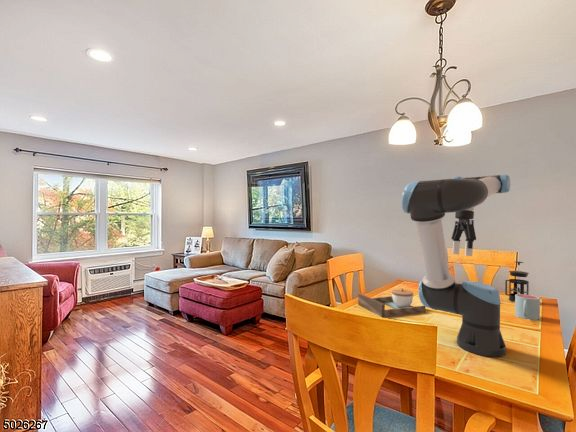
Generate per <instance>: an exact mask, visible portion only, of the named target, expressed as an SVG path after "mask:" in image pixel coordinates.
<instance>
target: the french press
mask: <svg viewBox="0 0 576 432" xmlns="http://www.w3.org/2000/svg"><path fill="white" fill-rule="evenodd" d="M515 263H516V264H517V265H518V267H517V268H518V270H508V273H509V275H510V276H511V277H518V278H509V279H505V280H504V281H505V285H504V286H505V287H504V290H505V291H504V293H505V295H506V296H508V301H510V302H512V303H515V295H516V294H526V295H530V294H529V291H530V289H529V283H530V282H529V281H528V280H525V279H520V278H527V277H528V275H529V272H527V271H522V270H520V265H521V264H524V262H523V261H517V260H515ZM512 284H513V287H512ZM508 286H509V287H508ZM525 286H526V289H525ZM512 292H513V293H512Z"/></svg>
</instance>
